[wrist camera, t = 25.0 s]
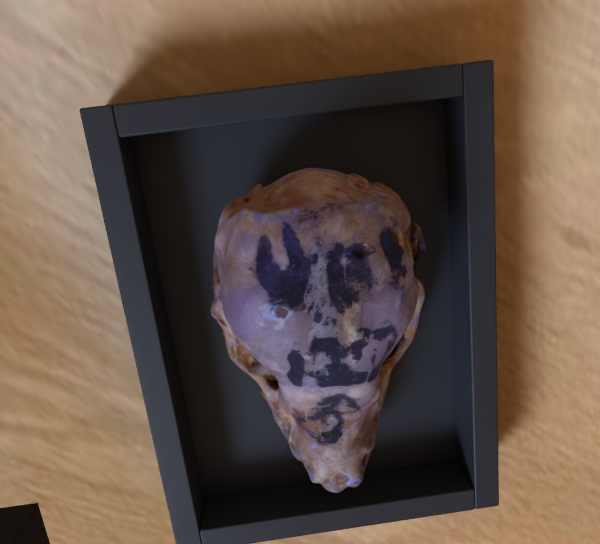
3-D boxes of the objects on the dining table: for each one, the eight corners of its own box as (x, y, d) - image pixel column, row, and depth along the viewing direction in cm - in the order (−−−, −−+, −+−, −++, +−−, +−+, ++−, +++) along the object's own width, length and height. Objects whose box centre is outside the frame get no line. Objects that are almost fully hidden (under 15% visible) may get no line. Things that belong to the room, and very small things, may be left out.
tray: (464, 66, 20) (494, 59, 17) (474, 466, 24) (499, 506, 22) (101, 109, 19) (78, 108, 17) (186, 509, 24) (178, 555, 21)
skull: (401, 461, 23) (424, 573, 17) (219, 446, 23) (178, 551, 17) (431, 169, 20) (472, 179, 14) (224, 158, 20) (179, 163, 14)
